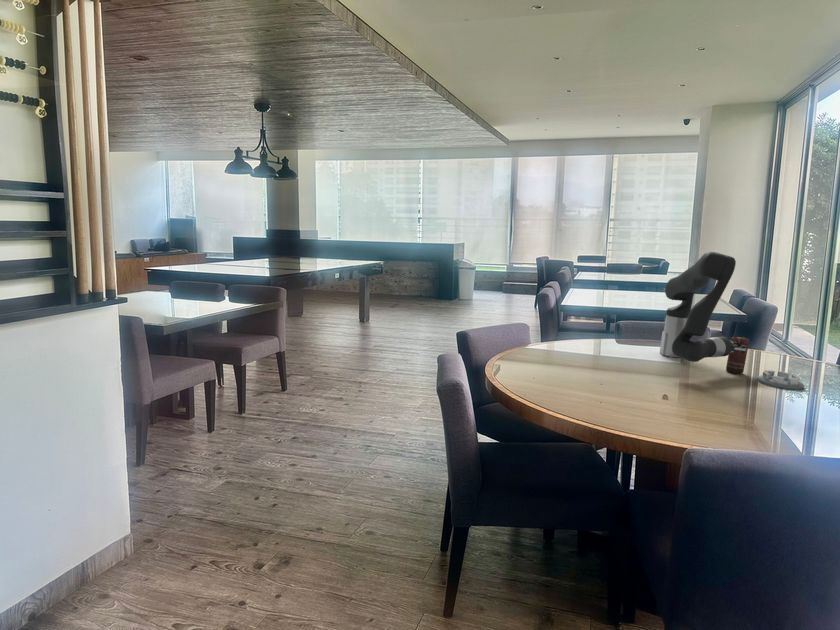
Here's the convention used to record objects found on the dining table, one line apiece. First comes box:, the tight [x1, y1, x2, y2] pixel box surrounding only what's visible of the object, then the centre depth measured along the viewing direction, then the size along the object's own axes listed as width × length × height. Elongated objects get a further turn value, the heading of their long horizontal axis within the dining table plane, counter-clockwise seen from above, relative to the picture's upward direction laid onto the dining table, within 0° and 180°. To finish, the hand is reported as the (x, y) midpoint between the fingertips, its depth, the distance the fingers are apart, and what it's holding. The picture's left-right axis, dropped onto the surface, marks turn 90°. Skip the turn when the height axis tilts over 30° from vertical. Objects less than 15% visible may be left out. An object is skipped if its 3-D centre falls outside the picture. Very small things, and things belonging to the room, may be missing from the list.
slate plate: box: [756, 374, 805, 391], centre depth 213 cm, size 15×15×1 cm
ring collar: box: [762, 369, 801, 386], centre depth 213 cm, size 11×11×2 cm
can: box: [725, 335, 750, 375], centre depth 225 cm, size 6×6×14 cm
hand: (743, 344), depth 226 cm, fingers closed
